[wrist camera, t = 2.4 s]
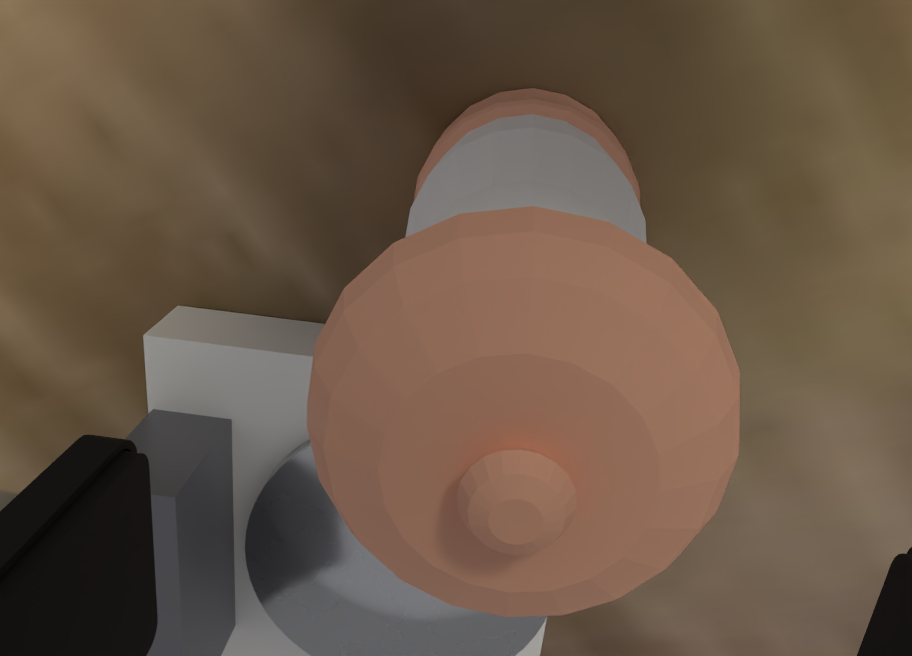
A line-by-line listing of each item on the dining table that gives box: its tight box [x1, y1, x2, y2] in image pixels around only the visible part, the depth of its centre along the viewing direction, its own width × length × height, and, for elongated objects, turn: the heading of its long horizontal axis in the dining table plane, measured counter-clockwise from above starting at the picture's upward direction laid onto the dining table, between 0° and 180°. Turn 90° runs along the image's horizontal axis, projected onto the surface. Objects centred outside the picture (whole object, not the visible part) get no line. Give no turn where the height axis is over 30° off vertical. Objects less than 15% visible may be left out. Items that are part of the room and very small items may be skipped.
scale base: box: [126, 306, 547, 656], centre depth 30 cm, size 16×16×8 cm
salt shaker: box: [307, 88, 740, 617], centre depth 19 cm, size 7×7×19 cm
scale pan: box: [245, 439, 547, 656], centre depth 30 cm, size 12×12×1 cm
